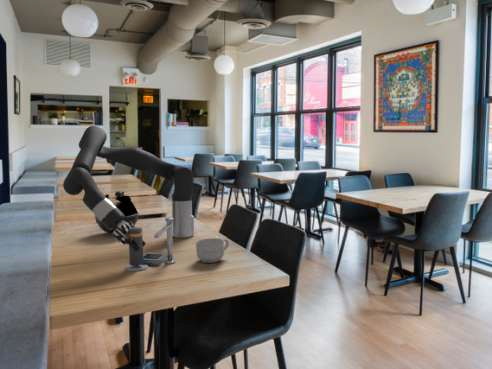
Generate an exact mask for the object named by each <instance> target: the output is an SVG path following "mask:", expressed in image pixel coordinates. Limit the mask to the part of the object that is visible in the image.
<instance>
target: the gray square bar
mask: <svg viewBox="0 0 492 369" xmlns="http://www.w3.org/2000/svg"><path fill="white" fill-rule="evenodd" d="M164 221H165V222H166V224H165V225H164V226H163V227H162V228H161V229H160V230H158V231H157V232H155V234H154V235H153V237H154V239H159V238H160V237H161V236H163V234H164V233H165V232H167V229H168V228H170V221H174V218H172V217H165V219H164Z"/></svg>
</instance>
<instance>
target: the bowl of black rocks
mask: <svg viewBox="0 0 492 369" xmlns="http://www.w3.org/2000/svg"><path fill="white" fill-rule="evenodd" d="M104 195H105V197H106V198H107V199H109V197H110V195H109V194H104ZM114 199H115V200H116V201H117V202H122V203H121V204H119V205H118V206H117V208H118V209H119V210H120V211H121V212H122V213H123V214H124V215H125V217H124V221H126V222H127V223H130V222H132V223H133V224H134V225H136V224H137V222H138V219H139V214H140V213H139V212H138V210H137V208H136V205H134V204H135V203H134V202H132V198H131V197H130V196H129V195H125V194H124V196H119V197H118V198H117V197H114ZM94 219H95V221H96V223H97V225H98V226H99V228H100V229H101V230H102V231H104V232H105V233H107V234H110V235H112V233H113V232H114V230H113V229H111V230H109V229H108V228H107V227H106V226H105V225H104V224H103V223H102V222H101V221H100V220H99V219H98V218H97V217H96V216H95V215H94Z"/></svg>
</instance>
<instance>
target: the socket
mask: <svg viewBox="0 0 492 369" xmlns="http://www.w3.org/2000/svg"><path fill="white" fill-rule="evenodd" d="M165 260H168V257H167V253H160V252H143V264H147V265H148V266H158V267H159V266H161V265H163V263H165Z"/></svg>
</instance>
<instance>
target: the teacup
mask: <svg viewBox="0 0 492 369" xmlns="http://www.w3.org/2000/svg"><path fill="white" fill-rule="evenodd" d="M224 242H225V243H224ZM229 245H230V241H229V240H228V239H227V238H222V239H221V238H216V237H212V238H211V237H210V238H201V239H198V240H196V241H195V248H196V256H197V259H199V260H200V261H201V262H202V263H204V264H205V263H206V264H213V263H218V262H219V261H221V259H223V257H224V255H225V254H224V253H225V251H226V250H227V249H228V248H229Z"/></svg>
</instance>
